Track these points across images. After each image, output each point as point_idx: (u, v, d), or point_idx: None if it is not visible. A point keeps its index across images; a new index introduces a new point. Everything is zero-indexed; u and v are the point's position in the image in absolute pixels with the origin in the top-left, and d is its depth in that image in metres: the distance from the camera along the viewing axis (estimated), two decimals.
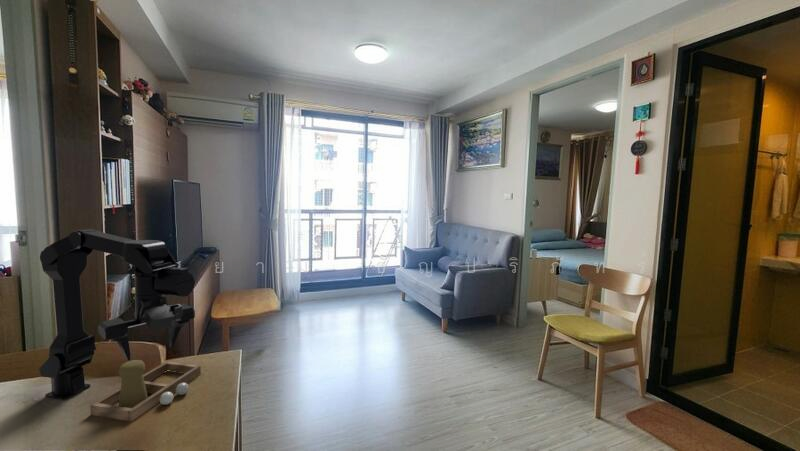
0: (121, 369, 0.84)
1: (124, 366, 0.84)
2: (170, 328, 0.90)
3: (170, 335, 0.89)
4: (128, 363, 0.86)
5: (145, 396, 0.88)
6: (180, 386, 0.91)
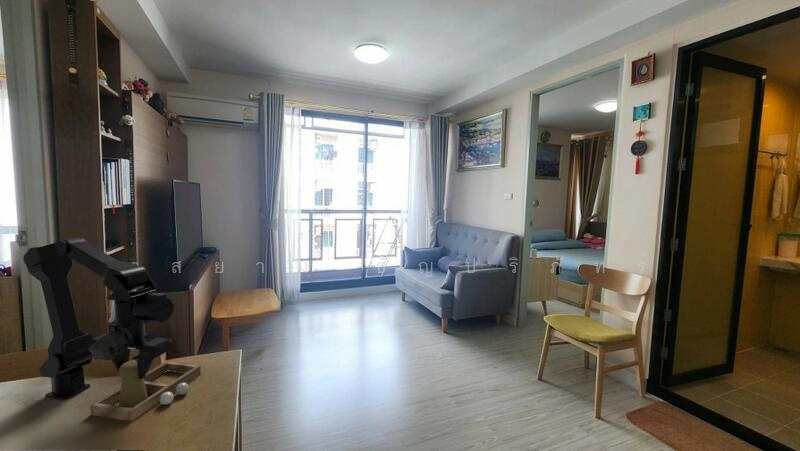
0: (121, 369, 0.84)
1: (124, 366, 0.84)
2: None
3: None
4: (128, 363, 0.86)
5: (145, 396, 0.88)
6: (180, 386, 0.91)
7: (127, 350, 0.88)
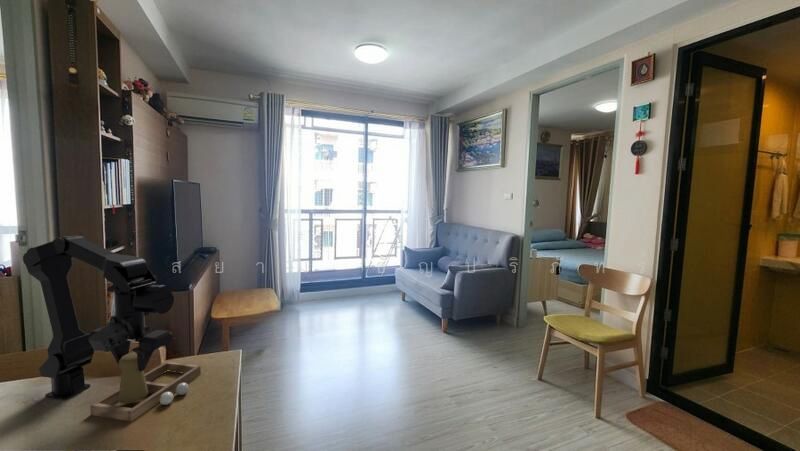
0: (121, 361, 0.84)
1: (124, 358, 0.84)
2: None
3: None
4: (128, 355, 0.85)
5: (145, 388, 0.87)
6: (180, 386, 0.91)
7: (127, 342, 0.88)
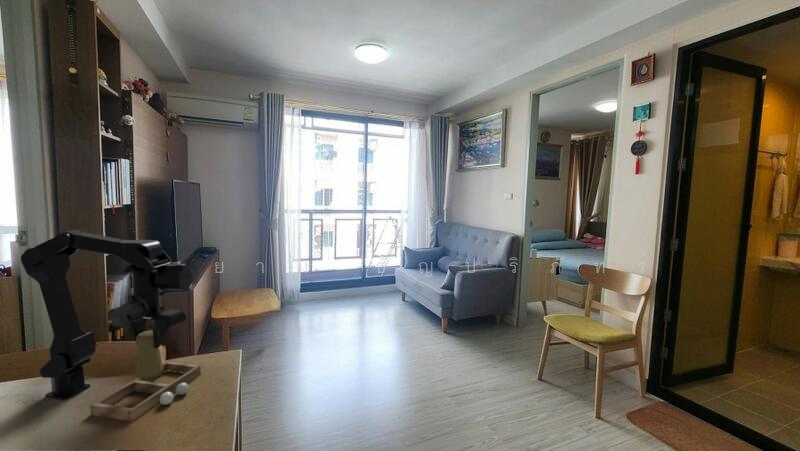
0: (138, 338, 0.88)
1: (141, 335, 0.89)
2: None
3: None
4: (144, 333, 0.90)
5: (160, 365, 0.92)
6: (180, 386, 0.91)
7: (143, 321, 0.92)
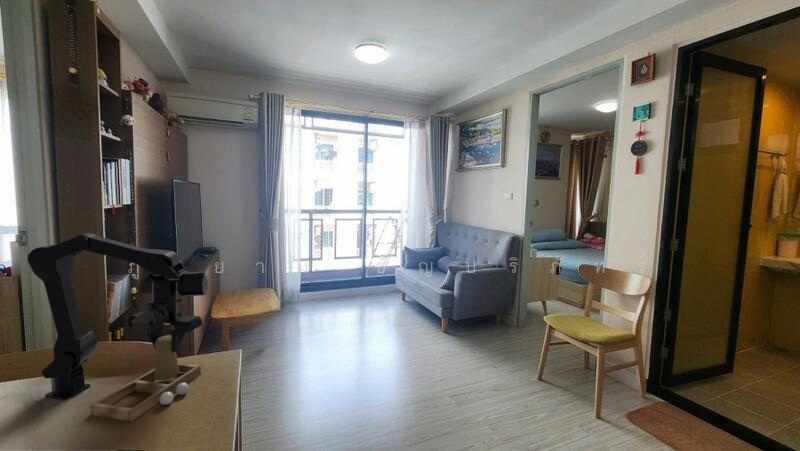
0: (157, 342, 0.94)
1: (160, 340, 0.95)
2: None
3: None
4: (163, 337, 0.96)
5: (177, 368, 0.98)
6: (180, 386, 0.91)
7: (161, 326, 0.98)
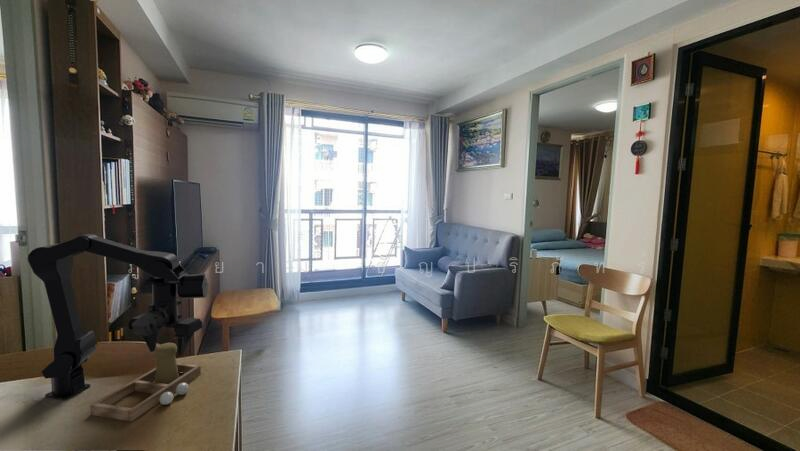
0: (157, 350, 0.94)
1: (160, 348, 0.95)
2: None
3: None
4: (163, 345, 0.96)
5: (177, 375, 0.98)
6: (180, 386, 0.91)
7: None
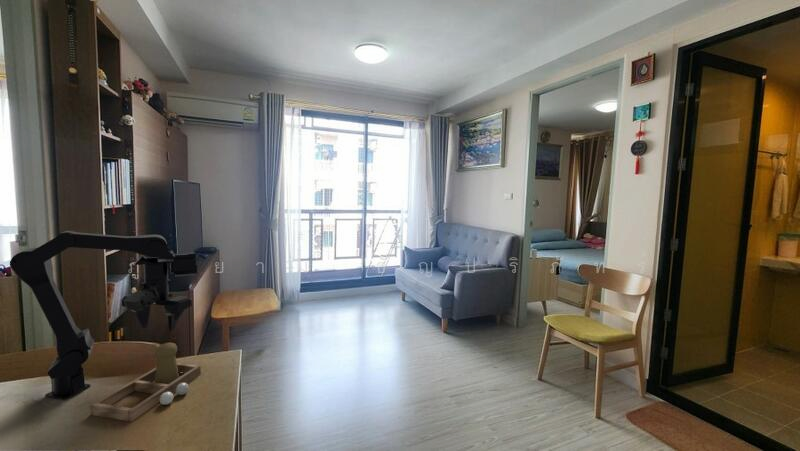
0: (157, 350, 0.94)
1: (160, 348, 0.95)
2: None
3: None
4: (163, 345, 0.96)
5: (177, 375, 0.98)
6: (180, 386, 0.91)
7: (148, 306, 1.03)
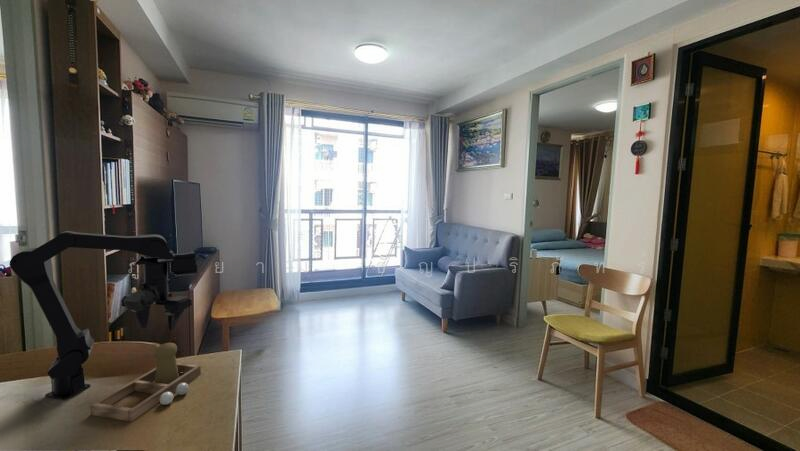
0: (157, 350, 0.94)
1: (160, 348, 0.95)
2: None
3: None
4: (163, 345, 0.96)
5: (177, 375, 0.98)
6: (180, 386, 0.91)
7: (147, 306, 1.04)
